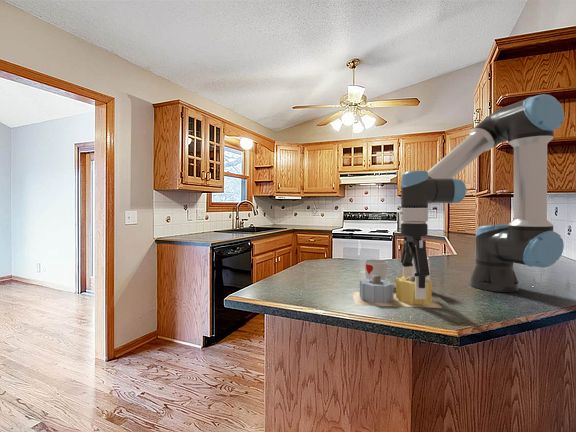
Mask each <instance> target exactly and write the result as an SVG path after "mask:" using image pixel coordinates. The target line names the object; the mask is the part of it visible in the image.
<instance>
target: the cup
mask: <svg viewBox="0 0 576 432" xmlns="http://www.w3.org/2000/svg"><path fill="white" fill-rule="evenodd" d="M388 264H389V261H387V260H383V259H365V260H364V271H365V280H366V279H372V275H380V276H381V280H385V281H387V280H386V279H387V275H388Z"/></svg>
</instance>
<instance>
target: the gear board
mask: <svg viewBox="0 0 576 432" xmlns="http://www.w3.org/2000/svg"><path fill="white" fill-rule="evenodd" d="M409 281H412V282H415V276H409ZM372 284H381V276H380V275H372ZM350 293H351V296H352V298H353V301H354V305H355V306H371V307H372V306H374V307H375V306H378V307H405V308H409V307H411V308H433V309H434V308H437V309H439V308H440V309H443V306H441V304H439V303H438V302H436V301H435V300H434V299H433V298H432V302H428V303H427V304H426V305H423V304H409V303H407V302H403V301H401V302H400V301H398V298H396V292H393V301H389V302H387V303H371V302H369V301H366V300H361V297H360V291H350Z"/></svg>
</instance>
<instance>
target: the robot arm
mask: <svg viewBox="0 0 576 432" xmlns="http://www.w3.org/2000/svg"><path fill="white" fill-rule="evenodd" d="M564 120H565V111H564V108H563V105H562V104H561V102H560V101H558V100H557V98H556V97H554V96H552V95H551V94H546V93H542V94H538V95H535V96H528V97H527V98H526V99H522V100H519V101H517V102H515V103H512V104H510V105H506V106H503V107H500V108H499V109H497V110H495V111H493V112H492V113H490V114H489V115H487V117H485V118H484V119H483V120H481V121H480V122H479V123H478V124H476V126H474V127H473V128H472V129H471V130H470V131H469V133H468V135H467V137H466V138H465V139H464V140H462V141H461V142H460V143H459V144H458V145H457V146H455V148H453V149H452V150H451V151H450V152H448V153H447V154H446V155H445V156H444V157H442V158H441V159H440V160H439V161H438V162H437V163H436V164H434V165H433V166H432V167H431V168H429V169H428V170H427V171H426V170H410V171H405V172H403V173H402V174H401V181H400V183H401V184H400V192H401V193H400V198H401V199H400V206H401V208H400V211H399V212H398V213H399V215H400V219H401V220H400V221H401V222H402V223H401V224H400V235H402V236H403V244H402V251H401V257H400V263H401V266H402V277H404V276H405V277H409V276H412V267H409V266H412V265H413V264H412V260H413V259H414V264H415V269H416V273H415V274H414V276H415V299H426V277H427V276H429V274H430V275H431V272H430V273H429V267H428V260H427V257H428V253H427V244H426V243H427V242H426V240H422V237H427V236H428V231H429V230H428V228H429V227H428V225H429V224H428V223H427V222H428V221H429V204H450V205H451V204H458V203H460V202H462V201H463V200H464V199H465V197H466V194H467V187H466V184H465V182H464V181H463V180H462V179H458V178H455V177H456V176H457V175H458V174H459V173H461V171H462V170H464V169H465V168H466V167H467V166H469V165H470V164H471V163H472V162H474V160H476V159H477V158H478V157H479V156H481V154H482V153H484V152H488V151H490V150H492V149H493V148H494V147H495V146H498V145H499V144H502V143H504V142H507V144H508V145H510V146H511V147H512V148H513V219H512V221H510V222H509V223H508V224H492V225H491V224H490V225H488V224H487V225H480V226H478V227H477V228H476V230H475V231H476V234H475V265H474V268H473V269H472V273H471V275H470V278H469V285H470V286H471V287H474V288H476V289H481V290H485V291H490V292H499V293H515V292H518V291H519V290H520V284H519V280H518V278H517V275H516V272H515V270H514V264H519V265H524V266H527V267H530V268H533V267H534V268H548V267H551V266H553V265H555V264H556V262H558V260H560V258H561V256H562V254H563V251H564V247H565V246H564V245H565V243H564V239H563V238H562V236H561V235H560V234H559V233H558V232H556V231H554V224H553V223H552V222H551V221H550V220H548V144H549V143H550V142H551V141H552V140H553V139H554V137H555V136H554V134H555V133H554V131H555V130H557V129H558V128H559V129H560V127H561V126H562V124H563V123H564Z"/></svg>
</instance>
